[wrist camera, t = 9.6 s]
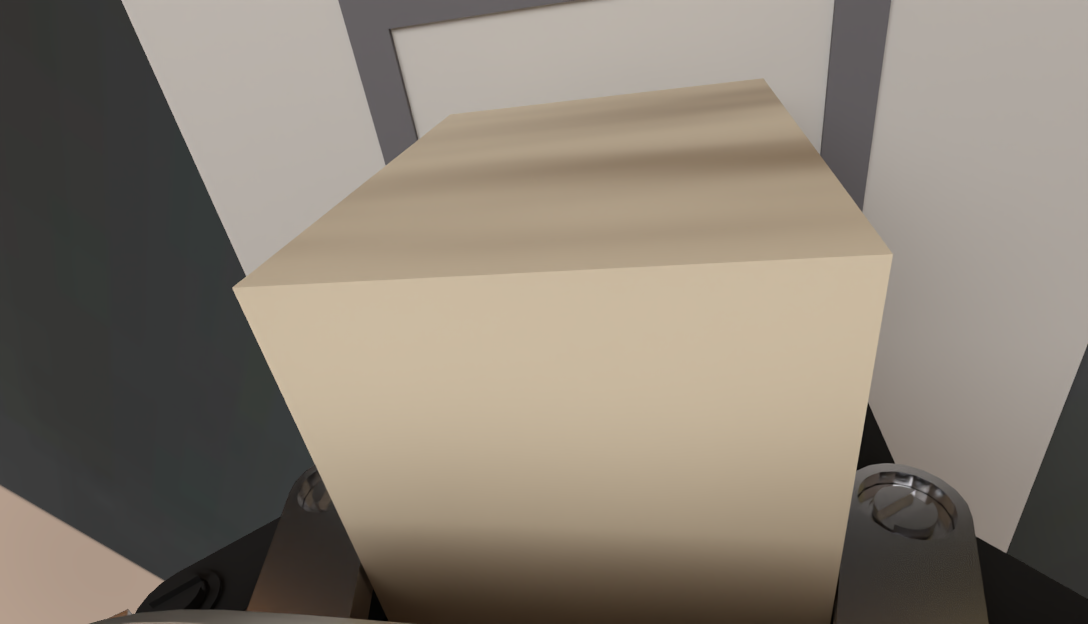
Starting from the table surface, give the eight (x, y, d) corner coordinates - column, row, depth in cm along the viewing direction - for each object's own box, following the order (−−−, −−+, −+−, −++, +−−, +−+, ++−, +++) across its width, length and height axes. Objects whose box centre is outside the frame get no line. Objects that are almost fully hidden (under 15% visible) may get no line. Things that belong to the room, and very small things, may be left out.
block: (449, 114, 10) (231, 288, 5) (763, 78, 9) (893, 255, 4) (538, 516, 15) (474, 805, 10) (745, 525, 14) (790, 854, 9)
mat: (930, 710, 20) (938, 734, 19) (432, 660, 24) (426, 678, 23) (1268, -218, 8) (1316, -229, 7) (142, -7, 12) (114, -5, 11)
